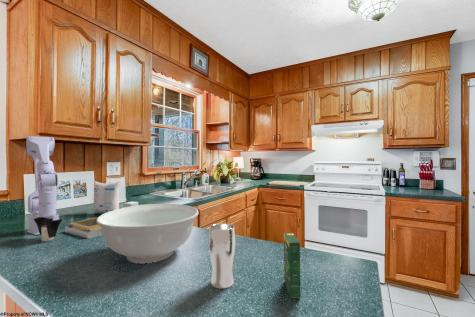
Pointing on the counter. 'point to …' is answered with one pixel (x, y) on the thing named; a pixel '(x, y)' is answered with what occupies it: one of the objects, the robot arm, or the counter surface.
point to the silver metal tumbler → (222, 254)
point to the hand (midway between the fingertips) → (47, 235)
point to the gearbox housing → (85, 228)
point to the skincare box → (130, 204)
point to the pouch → (106, 197)
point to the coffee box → (292, 265)
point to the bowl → (147, 230)
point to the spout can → (45, 234)
